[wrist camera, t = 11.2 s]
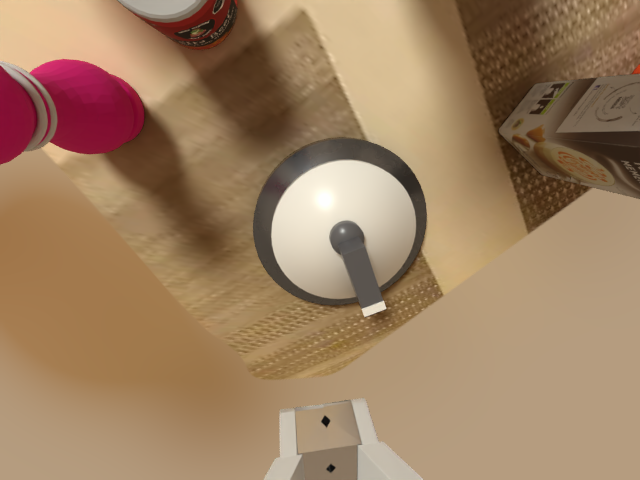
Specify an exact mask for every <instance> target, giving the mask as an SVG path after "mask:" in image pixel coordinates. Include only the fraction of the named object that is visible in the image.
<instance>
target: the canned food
mask: <svg viewBox="0 0 640 480" xmlns="http://www.w3.org/2000/svg"><path fill="white" fill-rule="evenodd" d="M117 1H118V2H119V3H121V4H122V5H123V6H124V7H126V8H127V9H128V10H129V11H131V12H132V13H133V14H135V15H136V16H138V17H139V18H140V19H142V20H143V21H145V22H146V23H148V24H149V25H151V26H152V27H154V28H155V29H157V30H158V31H160V32H161V33H163V34H164V35H166V36H167V37H169V38H170V39H172V40H173V41H175V42H176V43H178V44H180V45H182V46H184V47H187V48H190V49H197V50H203V49H209V48H212V47H214V46H216V45H218V44H219V43H221V42H222V41H223V40H224V39H225V38H226V37H227V36H228V35H229V33H230V31H231V29H232V28H233V25H234V22H235V19H236V13H237V0H117Z"/></svg>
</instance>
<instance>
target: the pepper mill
mask: <svg viewBox="0 0 640 480" xmlns="http://www.w3.org/2000/svg"><path fill="white" fill-rule="evenodd" d="M143 124H144V109H143V105H142V102H141V100H140V98H139V96H138V95H137V93H136V92H135V90H134V89H133V88H132V87H131V86H130V85H129V84H128V83H126V82H125V81H124V80H122V79H120V78H119V77H116V76H114V75H111V74H109V73H108V72H106V71H104V70H103V69H101V68H99V67H97V66H95V65H93V64H90V63H88V62H84V61H79V60H68V59H61V60H53V61H50V62H47V63H44V64H42V65H41V66H39V67H37V68H35V69H34V70H32V71H31V72H30V73H28V72H27V71H25V70H23V69H22V68H20V67H18V66H16V65H13V64H10V63H7V62H3V61H0V164H3V163H6V162H9V161H11V160H12V159H14V158H15V157H17V156H18V155H20V154H21V153H22V152H24V151H32V150H36V149H39V148H41V147H43V146H44V145H46V144H47V143H48V142H51V143H53V144H55V145H56V146H59V147H61V148H63V149H66V150H69V151H73V152H77V153H82V154H100V153H107V152H110V151H113V150H115V149H117V148H118V147H120V146H121V145H122V144H123V143H125V142H128V141H130V140H132V139H134V138H135V137H136V136H137V135H138V134H139V132H140V131H141V129H142V127H143Z"/></svg>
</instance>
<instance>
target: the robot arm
mask: <svg viewBox="0 0 640 480" xmlns="http://www.w3.org/2000/svg"><path fill="white" fill-rule="evenodd" d="M264 480H423V479H422V478H421V477H420V476H419V475H418V474H417V473H416V472H415V471H414V470H412V468H411V467H410V466H409V465H407V464H406V463H405V462H404V461H403V460H402V459H401V458H400V457H399V456H398V455H397V454H396V453H395V452H394V451H393V450H392V449H391V448H390V447H388V446H387V445H386V444H385V443H384V442H379V441H378V437H377V434H376V431H375V428H374V425H373V421H372V419H371V415H370V412H369V409H368V406H367V402H366V400H365V399H364V398H362V399H355V400H345V401H339V402H332V403H326V404H323V405H315V406H305V407H296V408H289V409H281V410H280V457H279V458H275V460H274V462H273V464H272V465H271V467H270V469H269V471H268V473H267V474H266V476H265V478H264Z"/></svg>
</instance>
